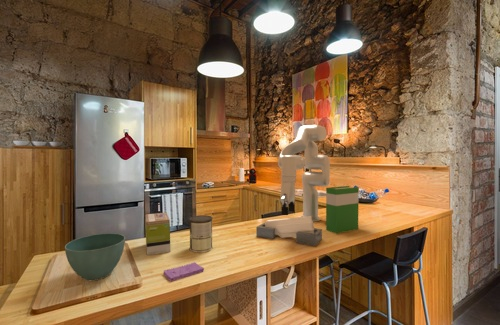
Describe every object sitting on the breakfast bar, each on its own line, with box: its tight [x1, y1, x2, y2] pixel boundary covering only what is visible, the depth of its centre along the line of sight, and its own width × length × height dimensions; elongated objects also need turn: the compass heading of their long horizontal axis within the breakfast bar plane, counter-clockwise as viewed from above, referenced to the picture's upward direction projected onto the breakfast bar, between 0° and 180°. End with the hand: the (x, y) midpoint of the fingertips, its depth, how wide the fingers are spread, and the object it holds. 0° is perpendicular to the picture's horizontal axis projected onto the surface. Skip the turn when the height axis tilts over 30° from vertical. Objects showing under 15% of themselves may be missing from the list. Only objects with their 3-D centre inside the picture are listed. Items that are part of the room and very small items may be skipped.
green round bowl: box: [64, 232, 126, 281], centre depth 91 cm, size 18×18×12 cm
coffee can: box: [189, 214, 213, 254], centre depth 117 cm, size 10×10×14 cm
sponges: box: [163, 262, 205, 282], centre depth 93 cm, size 7×13×2 cm, turn 128°
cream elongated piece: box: [264, 216, 315, 239], centre depth 132 cm, size 6×25×13 cm, turn 62°
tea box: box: [144, 212, 171, 256], centre depth 117 cm, size 15×10×15 cm, turn 23°
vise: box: [255, 222, 323, 247], centre depth 132 cm, size 12×31×5 cm, turn 62°
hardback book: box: [325, 185, 360, 235], centre depth 146 cm, size 18×7×24 cm, turn 119°
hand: (288, 213), depth 131 cm, fingers open, 9 cm apart
